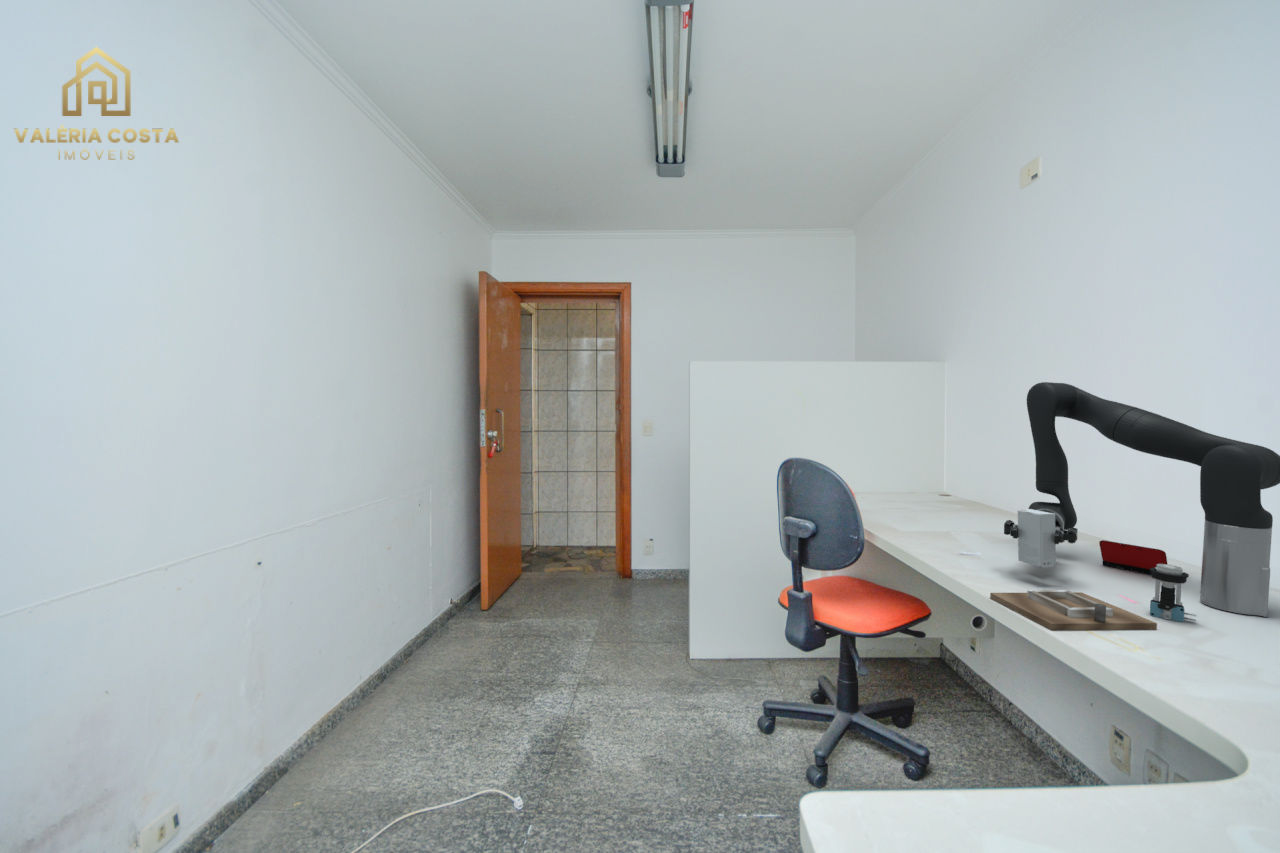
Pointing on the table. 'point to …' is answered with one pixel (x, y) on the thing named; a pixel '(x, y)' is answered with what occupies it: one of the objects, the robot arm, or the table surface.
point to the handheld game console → (1131, 556)
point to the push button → (1168, 593)
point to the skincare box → (1036, 538)
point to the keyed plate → (1071, 611)
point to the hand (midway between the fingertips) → (1035, 536)
